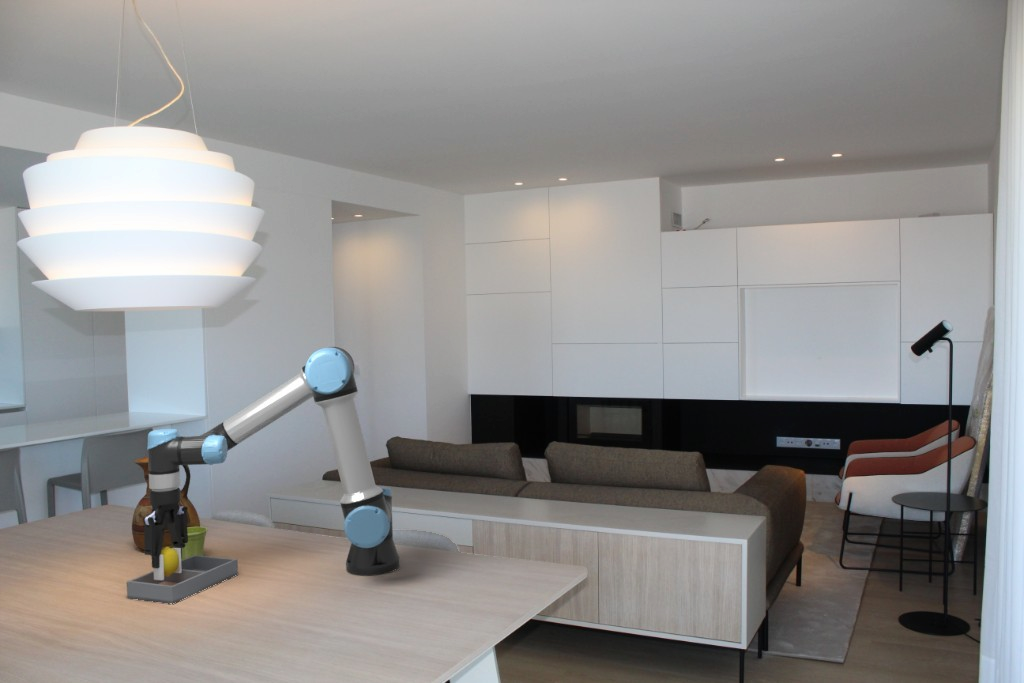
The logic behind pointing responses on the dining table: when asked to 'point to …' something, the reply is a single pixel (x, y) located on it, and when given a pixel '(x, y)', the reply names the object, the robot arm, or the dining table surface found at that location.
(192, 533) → the plant pot
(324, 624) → the dining table surface
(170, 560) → the lemon
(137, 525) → the ceramic pitcher
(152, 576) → the sorting tray
